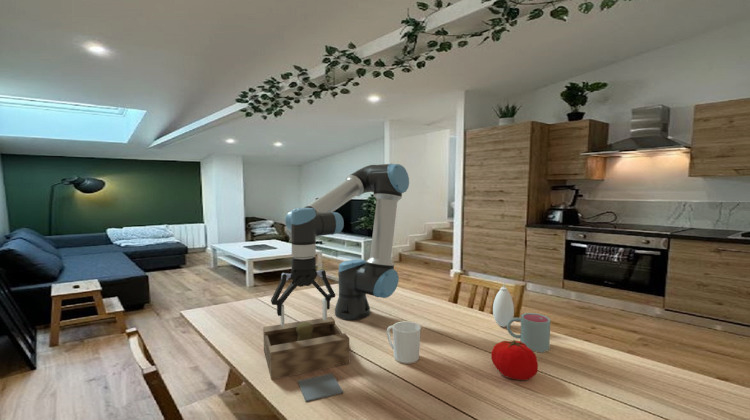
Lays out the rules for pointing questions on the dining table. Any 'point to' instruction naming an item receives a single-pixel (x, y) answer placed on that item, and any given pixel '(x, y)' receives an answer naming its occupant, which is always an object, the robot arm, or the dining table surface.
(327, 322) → the walnut box
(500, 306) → the sauce bottle
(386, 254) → the robot arm
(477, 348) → the dining table surface
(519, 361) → the tomato
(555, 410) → the dining table surface
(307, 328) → the cork
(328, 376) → the grey pad
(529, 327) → the mug
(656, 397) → the dining table surface
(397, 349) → the mug
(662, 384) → the dining table surface
